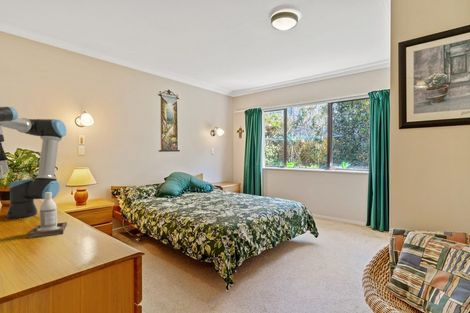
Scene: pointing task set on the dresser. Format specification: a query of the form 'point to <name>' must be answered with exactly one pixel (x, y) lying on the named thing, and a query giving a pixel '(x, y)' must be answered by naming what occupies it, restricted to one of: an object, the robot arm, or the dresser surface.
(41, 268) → the dresser surface
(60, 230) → the tray
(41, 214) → the bath foam
